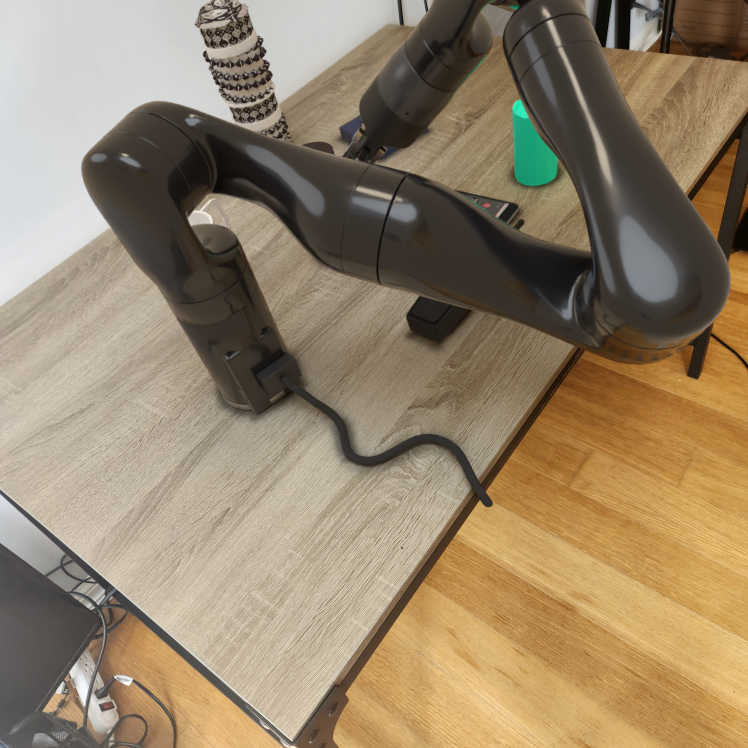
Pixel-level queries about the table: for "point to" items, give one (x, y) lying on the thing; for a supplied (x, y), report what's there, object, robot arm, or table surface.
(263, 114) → the decorative candle
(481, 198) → the smartphone
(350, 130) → the dispenser
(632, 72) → the table surface
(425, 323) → the walkie-talkie
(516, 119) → the candle
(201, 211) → the cup
